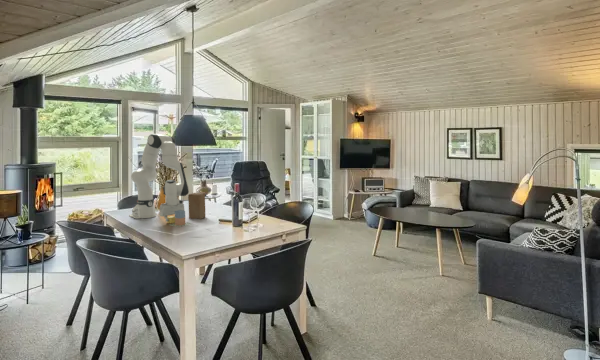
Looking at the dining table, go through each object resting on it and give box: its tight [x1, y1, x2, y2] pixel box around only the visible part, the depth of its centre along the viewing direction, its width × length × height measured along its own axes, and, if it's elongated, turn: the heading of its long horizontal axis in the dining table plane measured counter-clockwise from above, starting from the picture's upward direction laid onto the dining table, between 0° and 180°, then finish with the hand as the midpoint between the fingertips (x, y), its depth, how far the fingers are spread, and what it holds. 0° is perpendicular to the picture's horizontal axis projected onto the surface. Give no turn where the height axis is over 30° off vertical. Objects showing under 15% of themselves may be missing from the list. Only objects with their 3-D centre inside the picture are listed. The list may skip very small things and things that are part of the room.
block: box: [187, 192, 206, 220], centre depth 296 cm, size 10×10×20 cm
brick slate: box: [174, 209, 186, 219], centre depth 271 cm, size 5×5×5 cm
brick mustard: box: [166, 215, 175, 224], centre depth 279 cm, size 5×5×5 cm
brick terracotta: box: [174, 217, 186, 225], centre depth 272 cm, size 5×5×5 cm
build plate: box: [169, 222, 192, 228], centre depth 272 cm, size 12×12×1 cm
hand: (172, 220), depth 279 cm, fingers open, 8 cm apart
